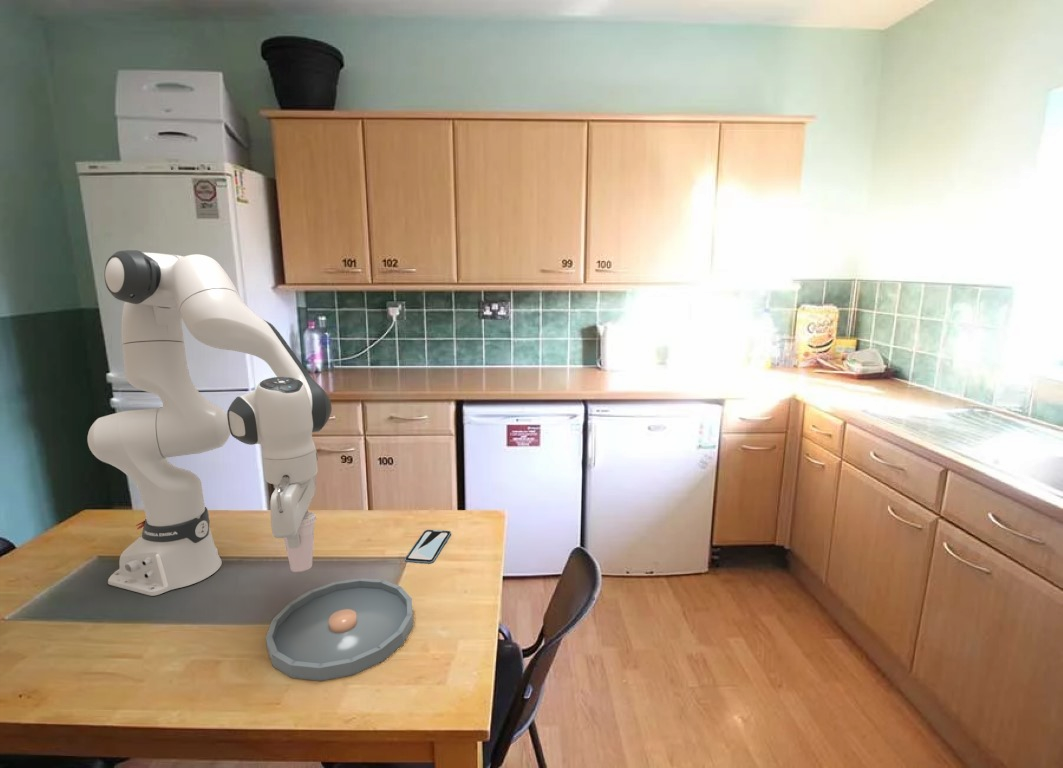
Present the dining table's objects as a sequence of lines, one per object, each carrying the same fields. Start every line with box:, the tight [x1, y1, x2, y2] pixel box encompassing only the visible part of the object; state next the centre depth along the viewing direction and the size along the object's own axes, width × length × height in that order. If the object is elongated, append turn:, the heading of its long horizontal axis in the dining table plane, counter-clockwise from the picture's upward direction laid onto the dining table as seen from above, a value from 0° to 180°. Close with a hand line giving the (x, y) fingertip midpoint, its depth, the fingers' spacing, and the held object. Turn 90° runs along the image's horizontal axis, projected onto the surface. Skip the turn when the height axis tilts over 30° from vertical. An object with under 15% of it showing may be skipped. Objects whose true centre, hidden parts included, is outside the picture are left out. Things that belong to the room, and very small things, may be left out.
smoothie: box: [283, 511, 317, 573], centre depth 99 cm, size 6×6×14 cm
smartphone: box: [404, 529, 452, 565], centre depth 132 cm, size 7×1×15 cm
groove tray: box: [265, 577, 414, 682], centre depth 102 cm, size 26×26×2 cm
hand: (299, 537), depth 99 cm, fingers closed on smoothie, 6 cm apart
